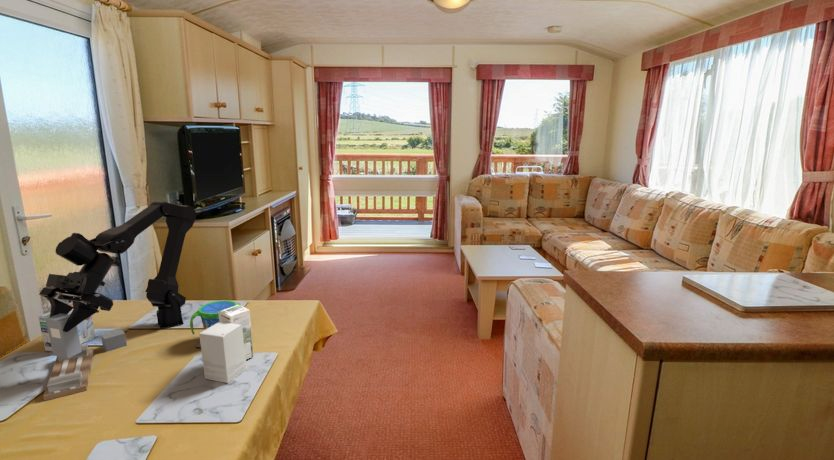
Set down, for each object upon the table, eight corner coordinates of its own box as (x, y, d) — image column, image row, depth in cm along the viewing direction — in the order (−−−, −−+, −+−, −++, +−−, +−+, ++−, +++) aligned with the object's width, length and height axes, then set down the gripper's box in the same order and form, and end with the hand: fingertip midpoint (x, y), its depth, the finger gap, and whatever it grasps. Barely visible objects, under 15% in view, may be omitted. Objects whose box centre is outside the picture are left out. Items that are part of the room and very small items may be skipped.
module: (67, 348, 115) (60, 313, 113) (81, 351, 114) (74, 315, 112) (53, 355, 112) (45, 318, 110) (67, 358, 110) (60, 321, 108)
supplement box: (247, 369, 116) (243, 324, 113) (227, 384, 109) (222, 337, 107) (225, 364, 119) (220, 320, 116) (203, 379, 112) (197, 332, 109)
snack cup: (246, 326, 141) (244, 296, 139) (250, 340, 132) (247, 308, 130) (192, 336, 135) (188, 305, 132) (192, 351, 125) (188, 318, 123)
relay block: (123, 341, 132) (120, 329, 131) (127, 345, 129) (125, 333, 128) (103, 347, 128) (100, 334, 127) (106, 352, 126) (104, 339, 125)
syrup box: (241, 351, 125) (236, 303, 122) (254, 357, 122) (249, 308, 119) (222, 360, 121) (217, 310, 117) (235, 366, 117) (230, 315, 114)
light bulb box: (63, 353, 125) (56, 318, 122) (43, 351, 126) (36, 316, 124) (97, 336, 135) (91, 303, 133) (78, 334, 136) (72, 301, 134)
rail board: (57, 359, 121) (55, 349, 120) (93, 352, 125) (91, 341, 125) (44, 400, 103) (41, 388, 102) (86, 390, 107) (84, 378, 106)
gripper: (39, 256, 114) (-1, 313, 106) (94, 262, 108) (55, 323, 101) (76, 275, 123) (41, 329, 115) (128, 282, 118) (95, 339, 110)
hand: (56, 330), depth 110 cm, fingers closed on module, 5 cm apart
